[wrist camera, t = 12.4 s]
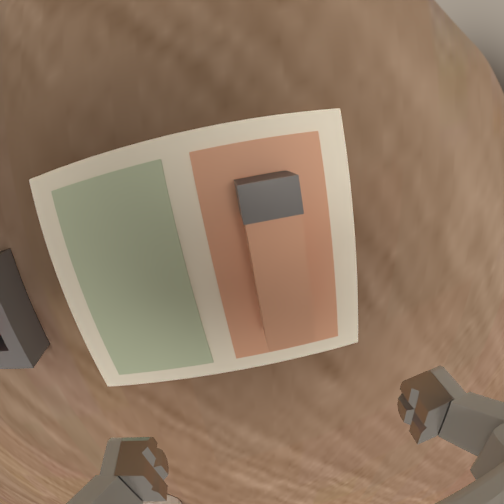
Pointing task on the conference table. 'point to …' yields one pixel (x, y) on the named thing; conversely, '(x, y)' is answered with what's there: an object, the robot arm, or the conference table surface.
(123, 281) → the picture board
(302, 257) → the terracotta marker
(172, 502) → the white cup
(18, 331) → the button base
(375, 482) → the conference table surface
